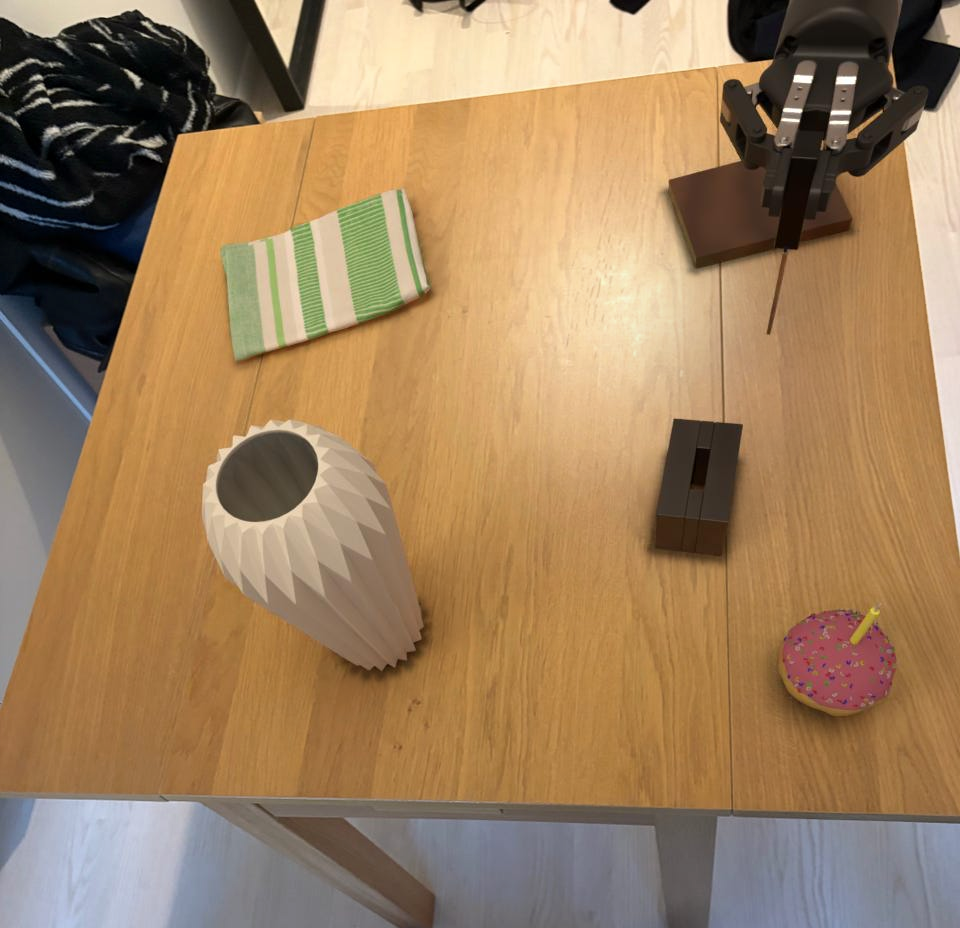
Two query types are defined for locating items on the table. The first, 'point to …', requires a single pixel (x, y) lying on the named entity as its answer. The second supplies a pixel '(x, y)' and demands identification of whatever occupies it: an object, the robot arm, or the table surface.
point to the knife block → (699, 461)
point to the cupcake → (838, 661)
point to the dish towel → (324, 275)
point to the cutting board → (738, 214)
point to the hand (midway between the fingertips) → (794, 206)
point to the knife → (795, 201)
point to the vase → (313, 540)
